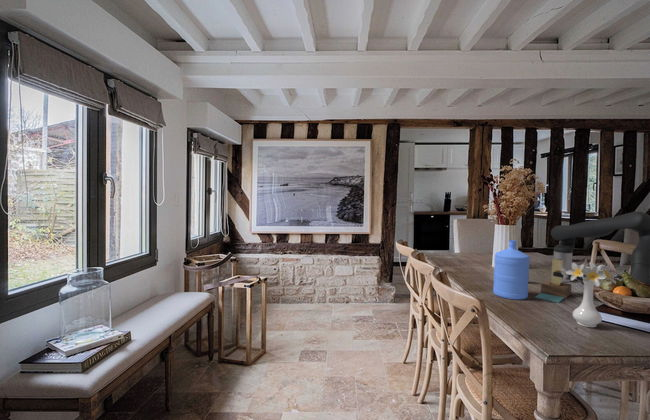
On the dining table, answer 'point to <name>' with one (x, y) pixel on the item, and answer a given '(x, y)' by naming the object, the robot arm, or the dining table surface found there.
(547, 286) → the socket block
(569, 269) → the robot arm
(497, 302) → the dining table surface
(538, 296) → the teal mat
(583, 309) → the flower vase
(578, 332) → the dining table surface
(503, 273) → the water jug
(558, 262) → the tan wooden peg
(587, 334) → the dining table surface
